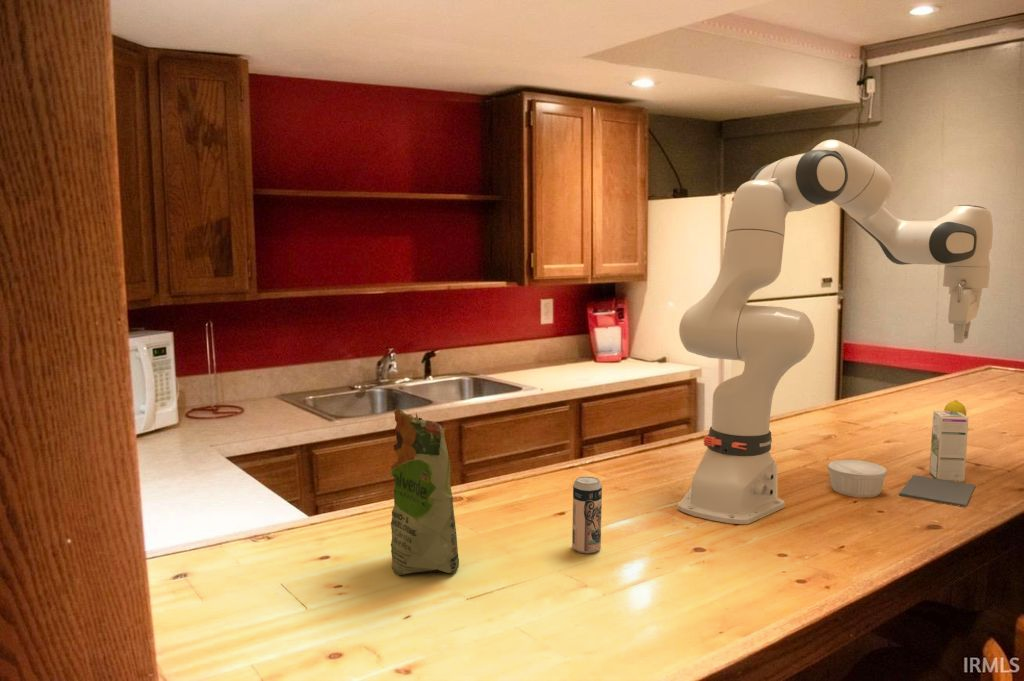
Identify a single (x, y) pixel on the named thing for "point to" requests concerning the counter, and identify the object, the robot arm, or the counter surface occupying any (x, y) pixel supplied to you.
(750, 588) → the counter surface
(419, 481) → the pouch
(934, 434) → the syrup box
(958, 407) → the lemon
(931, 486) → the mat
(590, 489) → the beer can
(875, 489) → the ramekin
